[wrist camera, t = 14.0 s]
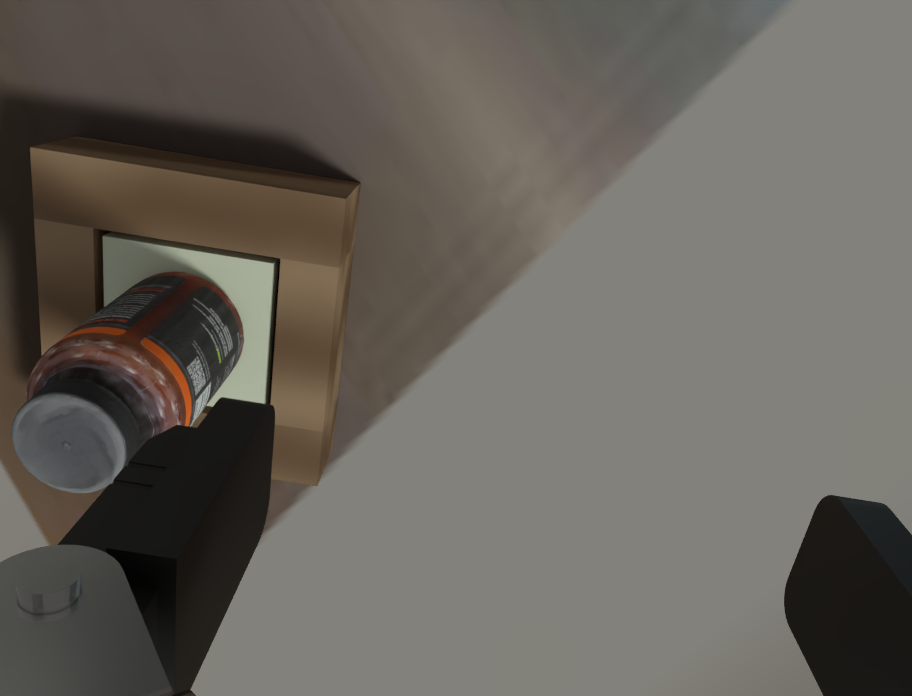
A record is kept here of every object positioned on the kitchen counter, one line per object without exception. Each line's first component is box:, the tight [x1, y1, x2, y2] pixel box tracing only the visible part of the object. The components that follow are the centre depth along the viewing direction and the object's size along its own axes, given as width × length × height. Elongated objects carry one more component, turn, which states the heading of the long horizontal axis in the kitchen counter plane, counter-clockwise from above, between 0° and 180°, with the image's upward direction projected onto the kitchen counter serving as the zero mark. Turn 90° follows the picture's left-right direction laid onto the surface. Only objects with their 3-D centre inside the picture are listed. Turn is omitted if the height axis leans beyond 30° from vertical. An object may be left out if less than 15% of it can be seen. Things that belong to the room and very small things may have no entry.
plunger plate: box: [103, 231, 279, 407], centre depth 37 cm, size 8×8×1 cm
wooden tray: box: [30, 136, 360, 486], centre depth 39 cm, size 15×14×4 cm
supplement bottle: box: [11, 272, 244, 493], centre depth 32 cm, size 6×6×11 cm
